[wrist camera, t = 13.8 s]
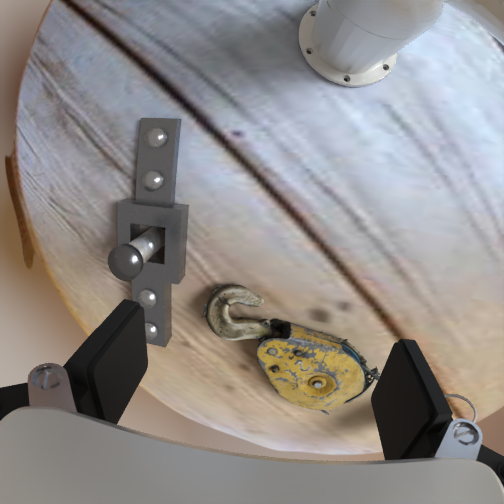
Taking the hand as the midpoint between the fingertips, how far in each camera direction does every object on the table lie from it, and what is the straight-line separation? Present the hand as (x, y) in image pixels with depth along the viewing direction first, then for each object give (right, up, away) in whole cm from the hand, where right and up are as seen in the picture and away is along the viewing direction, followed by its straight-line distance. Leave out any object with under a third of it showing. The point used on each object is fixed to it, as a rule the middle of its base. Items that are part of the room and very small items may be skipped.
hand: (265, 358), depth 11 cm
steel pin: (-14, +6, +32) cm, 35 cm away
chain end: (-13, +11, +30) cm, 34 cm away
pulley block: (+6, -10, +36) cm, 38 cm away
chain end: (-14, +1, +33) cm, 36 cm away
